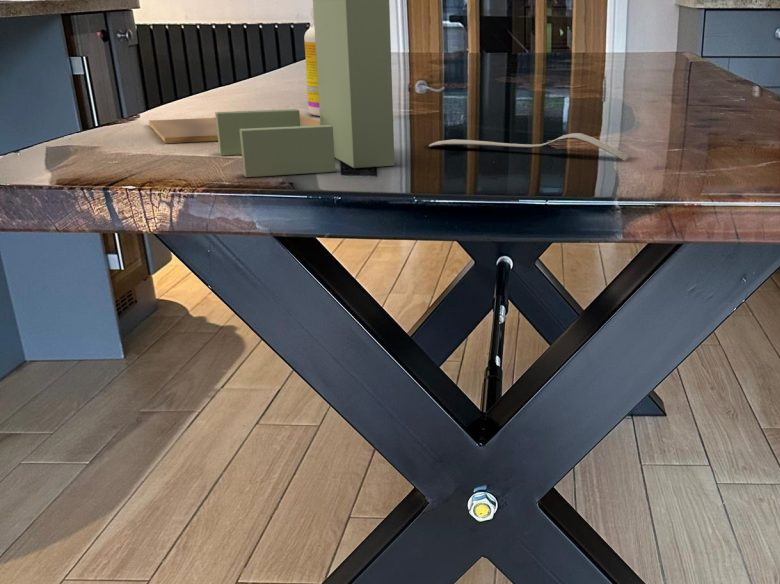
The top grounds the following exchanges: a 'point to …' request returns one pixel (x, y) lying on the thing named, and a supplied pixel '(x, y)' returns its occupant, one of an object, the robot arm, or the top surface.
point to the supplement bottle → (311, 69)
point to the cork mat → (197, 129)
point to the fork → (573, 135)
